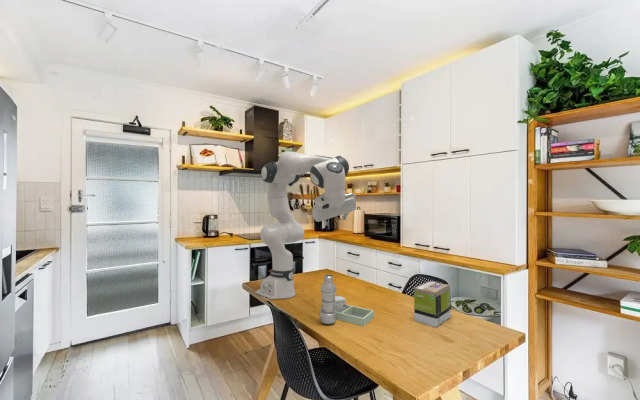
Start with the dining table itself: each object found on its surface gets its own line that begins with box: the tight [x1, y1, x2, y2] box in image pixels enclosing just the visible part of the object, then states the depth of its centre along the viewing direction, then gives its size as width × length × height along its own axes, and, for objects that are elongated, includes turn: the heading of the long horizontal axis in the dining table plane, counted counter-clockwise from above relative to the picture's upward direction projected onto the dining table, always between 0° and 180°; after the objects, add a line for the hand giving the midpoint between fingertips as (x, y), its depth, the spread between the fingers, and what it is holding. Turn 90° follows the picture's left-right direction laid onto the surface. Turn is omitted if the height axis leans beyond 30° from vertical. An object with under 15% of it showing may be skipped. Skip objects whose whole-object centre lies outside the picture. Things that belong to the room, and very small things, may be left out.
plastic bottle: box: [319, 274, 337, 325], centre depth 125 cm, size 6×7×20 cm
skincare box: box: [335, 295, 347, 313], centre depth 135 cm, size 6×6×7 cm
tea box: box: [413, 281, 451, 328], centre depth 130 cm, size 15×10×15 cm, turn 134°
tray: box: [319, 304, 375, 327], centre depth 132 cm, size 21×11×3 cm, turn 57°
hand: (335, 222), depth 137 cm, fingers open, 8 cm apart
